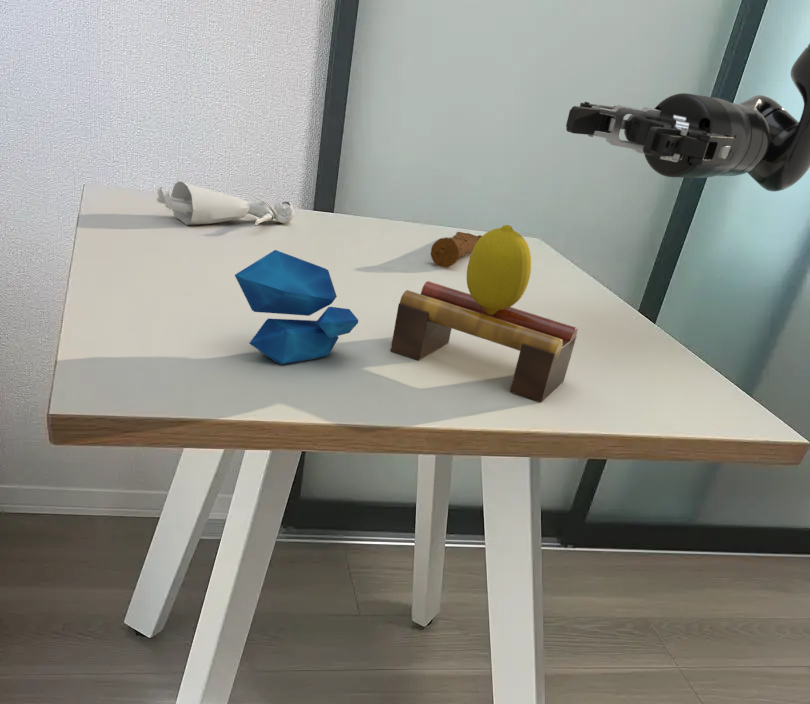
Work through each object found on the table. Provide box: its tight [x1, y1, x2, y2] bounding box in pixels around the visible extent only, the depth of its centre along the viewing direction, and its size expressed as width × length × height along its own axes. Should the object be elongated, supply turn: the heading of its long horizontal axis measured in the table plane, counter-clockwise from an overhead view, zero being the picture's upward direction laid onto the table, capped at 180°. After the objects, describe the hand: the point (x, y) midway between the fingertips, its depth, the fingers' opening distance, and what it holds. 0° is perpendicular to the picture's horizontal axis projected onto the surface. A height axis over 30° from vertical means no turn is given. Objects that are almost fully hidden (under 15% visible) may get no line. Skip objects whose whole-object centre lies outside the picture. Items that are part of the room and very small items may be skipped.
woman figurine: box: [156, 180, 295, 226], centre depth 111 cm, size 12×4×18 cm
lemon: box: [466, 224, 532, 315], centre depth 78 cm, size 6×6×8 cm
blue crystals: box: [234, 249, 359, 366], centre depth 75 cm, size 7×9×12 cm
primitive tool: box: [430, 231, 483, 268], centre depth 118 cm, size 19×6×4 cm, turn 165°
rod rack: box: [390, 280, 578, 403], centre depth 82 cm, size 15×7×6 cm, turn 64°
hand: (609, 129), depth 80 cm, fingers open, 8 cm apart
